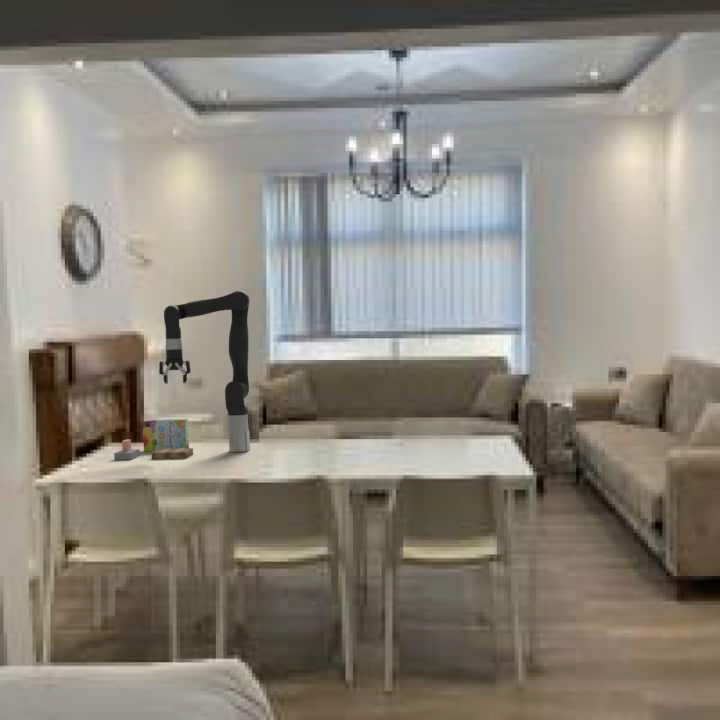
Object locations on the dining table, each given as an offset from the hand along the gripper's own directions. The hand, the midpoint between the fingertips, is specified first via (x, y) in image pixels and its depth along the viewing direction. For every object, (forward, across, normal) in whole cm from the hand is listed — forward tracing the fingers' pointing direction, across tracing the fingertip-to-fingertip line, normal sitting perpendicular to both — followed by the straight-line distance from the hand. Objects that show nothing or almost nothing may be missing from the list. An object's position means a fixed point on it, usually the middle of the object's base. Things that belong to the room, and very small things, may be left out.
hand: (175, 383), depth 429 cm
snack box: (+33, +9, -12) cm, 37 cm away
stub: (+33, +21, +10) cm, 41 cm away
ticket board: (+33, 0, +10) cm, 35 cm away
